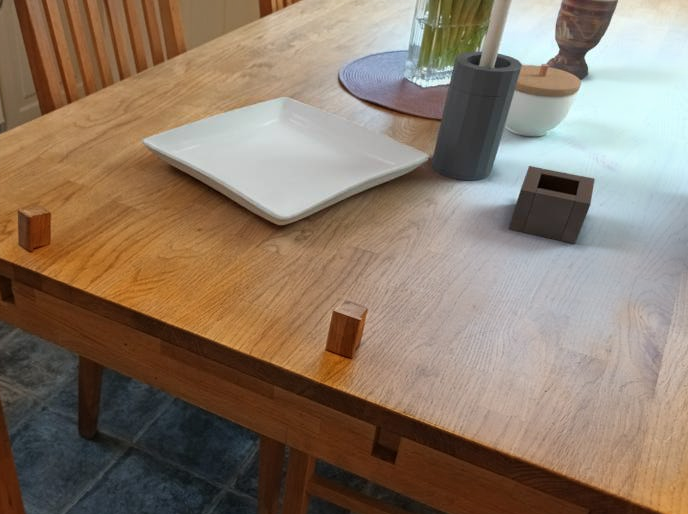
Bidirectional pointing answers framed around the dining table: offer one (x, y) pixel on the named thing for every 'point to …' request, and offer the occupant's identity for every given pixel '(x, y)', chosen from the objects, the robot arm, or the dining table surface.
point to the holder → (552, 204)
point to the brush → (495, 33)
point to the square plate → (284, 157)
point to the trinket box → (541, 100)
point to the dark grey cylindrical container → (474, 116)
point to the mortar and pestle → (580, 32)
